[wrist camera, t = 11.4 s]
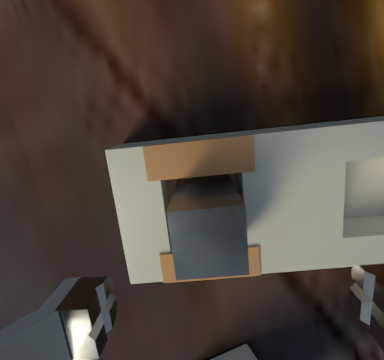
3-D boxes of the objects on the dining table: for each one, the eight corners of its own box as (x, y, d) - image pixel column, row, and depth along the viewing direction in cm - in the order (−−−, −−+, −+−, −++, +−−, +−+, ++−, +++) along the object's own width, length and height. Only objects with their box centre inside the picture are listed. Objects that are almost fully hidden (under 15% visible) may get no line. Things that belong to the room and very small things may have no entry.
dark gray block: (228, 173, 19) (245, 204, 13) (232, 221, 20) (249, 274, 14) (177, 178, 20) (166, 212, 13) (183, 226, 20) (175, 280, 14)
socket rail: (435, 110, 19) (500, 109, 15) (419, 231, 21) (471, 258, 17) (122, 143, 20) (103, 150, 16) (142, 255, 22) (129, 285, 18)
